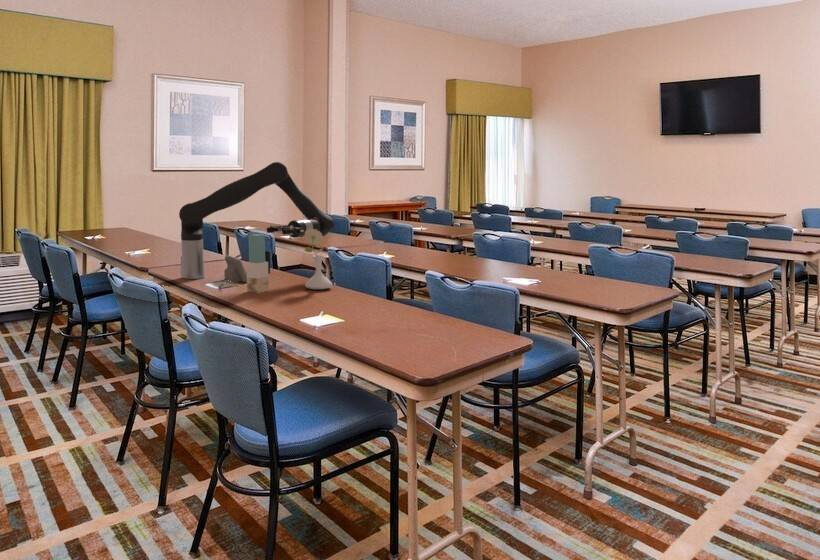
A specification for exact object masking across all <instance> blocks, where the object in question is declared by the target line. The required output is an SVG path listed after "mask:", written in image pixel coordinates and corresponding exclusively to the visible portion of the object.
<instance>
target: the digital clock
mask: <svg viewBox="0 0 820 560" xmlns="http://www.w3.org/2000/svg"><path fill="white" fill-rule="evenodd" d="M224 260H225V262H226V266H227V267H226V268H225V269H224V272H223V273H224V280H225V279H226V280H229V281H231V282H236V283H240V282H239V281H242V282H241V283H247V270H246V268H245V267H244V264H243V261H242V260H241V259H240V258H238V257H235V256H232V255H225V257H224ZM226 280H225V281H226ZM229 281H228V282H229ZM231 282H230V283H231Z"/></svg>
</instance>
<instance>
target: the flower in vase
mask: <svg viewBox="0 0 820 560" xmlns="http://www.w3.org/2000/svg"><path fill="white" fill-rule="evenodd" d="M303 238H305V240H306V242H307V243H309V244H311V247H310V246H307V247H305V249H304V250H303V251H305V252H308V253H312V252H314V254H315V255H312V258H313V260H314V264H315V272H314V274H313V276H311V277H310V278H309V279H308V280H307V281H306V282H305V283H304V287H306V288H307V289H309V290H326V289H329V288H332V286H333V282H332V281H331V280H330V279H328V278H327V277H326V276H325V275H324V274H323V272H322V264H323V263H322V262H323V259H324V258H325V255H323V254H322V255H321V254H320V255H319V254H317V253H320V252H322V251H323V250H324V249H325V247H323V248H320V249H318V250H317V251H316V250H315V249H314V245H319V244H322V243H323V241H324V236H322V233H320V231H317V229H315V230H314V229H309V230H306V231H305V235H304V237H303Z"/></svg>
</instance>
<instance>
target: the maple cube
mask: <svg viewBox="0 0 820 560" xmlns="http://www.w3.org/2000/svg"><path fill="white" fill-rule="evenodd" d="M269 278H270V277H269V276H268V277H264V278H259V279H257V278H249V277H247V282H246V289H247V290H246V291H250V292H249V293H252V292H256V293H255V294H262V293H265V291H267V292H269V291H270V290H269V289H270V287H269V284H270V282H269V281H270V280H269ZM261 292H262V293H261Z"/></svg>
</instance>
